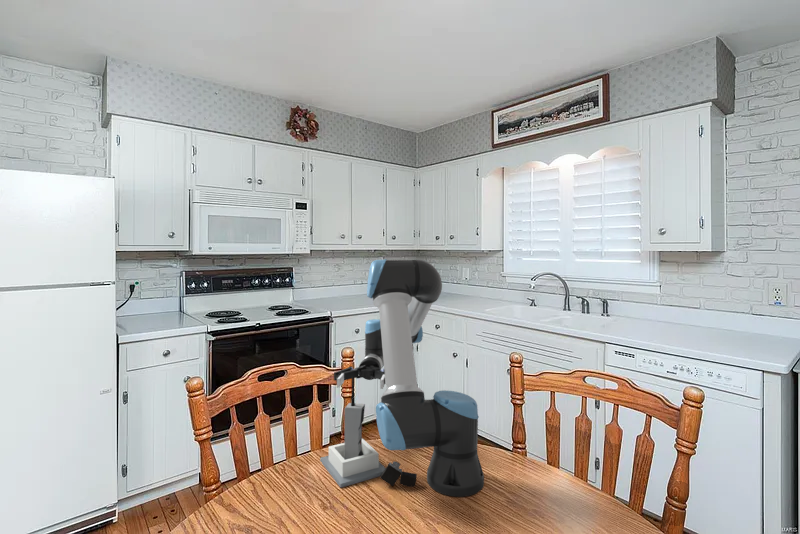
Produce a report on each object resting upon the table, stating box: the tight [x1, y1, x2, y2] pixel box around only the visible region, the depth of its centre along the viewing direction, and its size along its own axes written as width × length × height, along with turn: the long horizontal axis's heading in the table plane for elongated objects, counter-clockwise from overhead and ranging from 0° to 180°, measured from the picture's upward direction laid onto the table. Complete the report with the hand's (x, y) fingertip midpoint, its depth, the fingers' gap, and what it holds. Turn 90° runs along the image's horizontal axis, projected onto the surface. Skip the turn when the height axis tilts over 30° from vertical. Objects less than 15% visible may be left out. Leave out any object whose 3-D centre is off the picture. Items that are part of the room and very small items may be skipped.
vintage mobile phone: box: [344, 377, 366, 460], centre depth 116 cm, size 4×5×25 cm
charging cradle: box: [319, 438, 386, 488], centre depth 116 cm, size 16×14×5 cm
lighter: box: [379, 460, 418, 488], centre depth 108 cm, size 9×2×6 cm
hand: (359, 383), depth 126 cm, fingers open, 13 cm apart
